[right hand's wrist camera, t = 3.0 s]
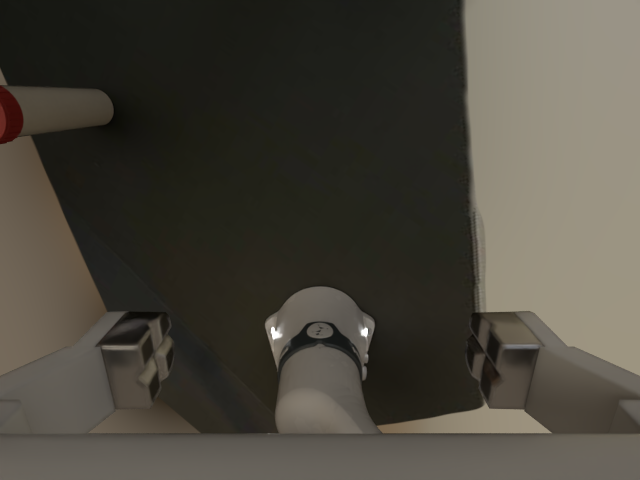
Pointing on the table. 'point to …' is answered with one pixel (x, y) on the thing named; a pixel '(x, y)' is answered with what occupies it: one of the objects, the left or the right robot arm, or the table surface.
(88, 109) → the jar
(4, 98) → the lid
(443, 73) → the table surface
